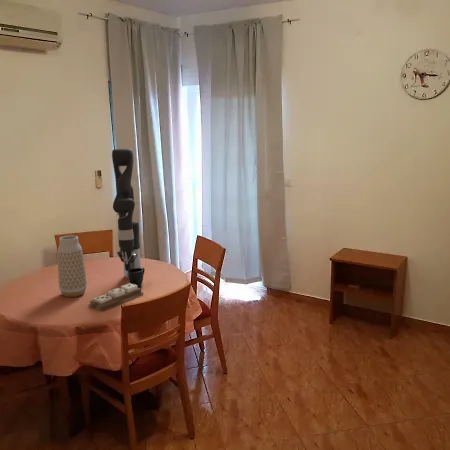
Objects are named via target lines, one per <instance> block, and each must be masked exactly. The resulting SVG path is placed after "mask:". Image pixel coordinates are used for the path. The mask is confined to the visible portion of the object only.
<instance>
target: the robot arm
mask: <svg viewBox="0 0 450 450" xmlns="http://www.w3.org/2000/svg"><path fill="white" fill-rule="evenodd" d="M111 152H112V153H111V161H112V166H113V170H114V171H113V172H114V178H115V190H116V194H115V198H114V200H113V203H112V204H113V205H112V210H113V212H115V213H117V214H118V219H117V227H118V229H117V230H118V232H117V237H118V238H117V239H118V247H119V251H117V252H116V253H117V256H118V257H119V259H120V261H121V263H123V273H124V274H123V275H124V277H125V278H126V279H128V280H129V278H128V271H130V270H131V269H132V268H142V263H141V249H140V248H141V247H140V246H141V245H140V224H139V222H138V221H137V220H133V214H134V211H135V208H136V207H135V206H136V203H135V201H134V200H135V197H134V194H135V193H134V188H133V186H132V177H133V176H132V175H133V171H134V170H133V168H134V160H135V159H134V153H133V149H131V148H115V149H113V150H112V151H111ZM121 167H126V168H125V169H124V171H123V172H122V170H121Z"/></svg>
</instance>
